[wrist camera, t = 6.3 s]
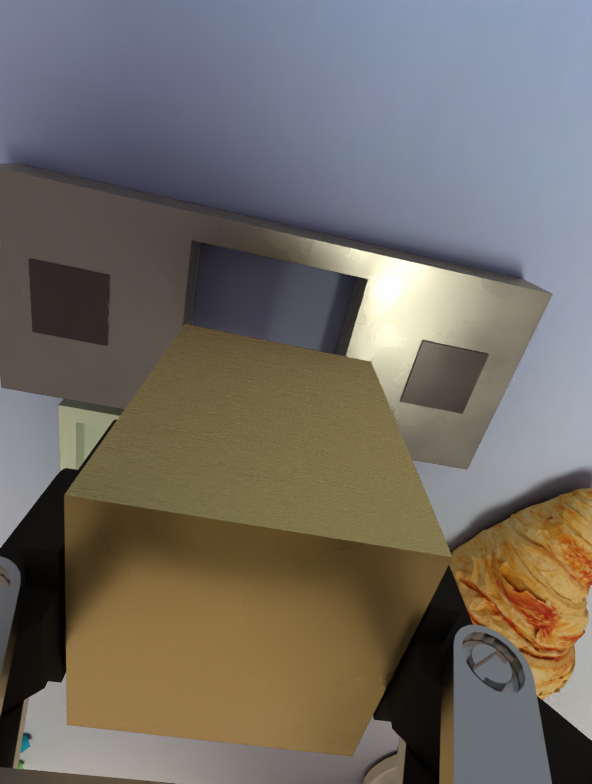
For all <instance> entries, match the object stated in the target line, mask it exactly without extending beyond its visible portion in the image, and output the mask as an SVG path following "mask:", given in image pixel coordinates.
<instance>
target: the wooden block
mask: <svg viewBox="0 0 592 784" xmlns="http://www.w3.org/2000/svg"><path fill="white" fill-rule="evenodd" d="M64 518H65V599H66V681H67V725H72V726H81V727H91V728H100V729H109V730H118V731H127V732H136V733H145V734H154V735H163V736H172V737H181V738H190V739H199V740H208V741H217V742H226V743H235V744H244V745H254V746H263V747H272V748H281V749H290V750H299V751H308V752H317V753H326V754H335V755H344V756H352V755H353V753H354V751H355V749H356V747H357V745H358V743H359V741H360V739H361V737H362V735H363V733H364V731H365V729H366V727H367V725H368V724H369V722H370V720H371V718H372V716H373V714H374V712H375V710H376V708H377V706H378V704H379V702H380V700H381V698H382V696H383V694H384V692H385V690H386V688H387V686H388V684H389V682H390V680H391V678H392V676H393V674H394V672H395V670H396V668H397V666H398V664H399V662H400V660H401V658H402V656H403V654H404V652H405V650H406V648H407V646H408V644H409V643H410V641H411V639H412V637H413V635H414V633H415V631H416V629H417V627H418V625H419V623H420V621H421V619H422V617H423V615H424V613H425V611H426V609H427V607H428V605H429V603H430V601H431V599H432V597H433V595H434V593H435V591H436V589H437V587H438V585H439V583H440V581H441V579H442V577H443V575H444V573H445V571H446V569H447V567H448V565H449V563H450V561H451V560H452V558H453V557H452V555H451V552H450V550H449V547H448V545H447V543H446V540H445V538H444V535H443V533H442V531H441V528H440V526H439V523H438V521H437V519H436V516H435V514H434V511H433V509H432V507H431V504H430V502H429V499H428V497H427V495H426V492H425V490H424V487H423V485H422V483H421V480H420V478H419V475H418V473H417V470H416V468H415V466H414V463H413V461H412V458H411V456H410V454H409V451H408V449H407V446H406V444H405V442H404V439H403V437H402V434H401V432H400V430H399V427H398V425H397V422H396V420H395V418H394V415H393V413H392V410H391V408H390V406H389V403H388V401H387V398H386V396H385V394H384V391H383V389H382V386H381V384H380V382H379V379H378V377H377V374H376V372H375V370H374V367H373V365H372V362H370V361H365V360H361V359H356V358H351V357H346V356H341V355H336V354H331V353H326V352H321V351H316V350H311V349H306V348H302V347H297V346H292V345H287V344H282V343H277V342H272V341H267V340H262V339H257V338H252V337H247V336H242V335H238V334H233V333H228V332H223V331H218V330H213V329H208V328H203V327H198V326H193V325H188V324H185V325H184V326H183V328H182V329H181V331H180V332H179V333H178V335H177V336H176V338H175V339H174V340H173V342H172V343H171V345H170V346H169V348H168V349H167V350H166V352H165V353H164V355H163V356H162V357H161V359H160V360H159V362H158V363H157V365H156V366H155V367H154V369H153V370H152V372H151V373H150V374H149V376H148V377H147V379H146V380H145V381H144V383H143V384H142V386H141V387H140V389H139V390H138V391H137V393H136V394H135V396H134V397H133V398H132V400H131V401H130V403H129V404H128V406H127V407H126V408H125V410H124V411H123V413H122V414H121V415H120V417H119V418H118V420H117V421H116V422H115V424H114V425H113V427H112V428H111V430H110V431H109V432H108V434H107V435H106V437H105V438H104V439H103V441H102V442H101V444H100V445H99V447H98V448H97V449H96V451H95V452H94V454H93V455H92V456H91V458H90V459H89V461H88V462H87V463H86V465H85V466H84V468H83V469H82V471H81V472H80V473H79V475H78V476H77V478H76V479H75V480H74V482H73V483H72V485H71V486H70V487H69V489H68V490H67V492H66V493H65V495H64Z"/></svg>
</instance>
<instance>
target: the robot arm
mask: <svg viewBox="0 0 592 784" xmlns="http://www.w3.org/2000/svg"><path fill="white" fill-rule="evenodd" d="M116 421H117V419H116V420H114V421H113V422H112V423H111V424H110V426H109V427H108V429H107V430H106V431H105V433H104V434H103V436H102V437H101V438H100V440H99V441H98V443H97V444H96V445H95V447H94V448H93V450H92V451H91V452H90V454H89V455H88V457H87V458H86V459H85V461H84V462H83V464H82V465H81V466H80V468H79V469H78V470H76V469H70V468H65V469H62V470H61V471H60V472H59V473H58V475H57V476H56V477H55V478H54V480H53V481H52V482H51V484H50V485H49V486H48V487H47V489H46V490H45V491H44V493H43V494H42V495H41V497H40V498H39V499H38V500H37V502H36V503H35V504H34V506H33V507H32V508H31V509H30V511H29V512H28V513H27V515H26V516H25V517H24V519H23V520H22V521H21V522H20V524H19V525H18V526H17V528H16V529H15V530H14V531H13V533H12V534H11V535H10V537H9V538H8V539H7V541H6V542H5V543H4V544H3V546H2V547H1V548H0V784H174V783H164V782H154V781H143V780H132V779H122V778H111V777H100V776H89V775H79V774H68V773H57V772H47V771H36V770H25V769H18V763H19V757H20V751H21V744H22V738H23V732H24V725H25V719H26V713H27V706H28V700H29V697H30V696H32V695H34V694H35V693H37V692H39V691H40V690H42V689H44V688H45V686H46V684H47V682H48V681H53V682H62V680H63V678H64V675H65V673H66V599H65V518H64V495H65V493H66V492H67V490H68V489H69V487H70V486H71V485H72V483H73V482H74V480H75V479H76V478H77V476H78V475H79V473H80V472H81V471H82V469H83V468H84V466H85V465H86V463H87V462H88V461H89V459H90V458H91V456H92V455H93V454H94V452H95V451H96V449H97V448H98V447H99V445H100V444H101V442H102V441H103V439H104V438H105V437H106V435H107V434H108V432H109V431H110V430H111V428H112V427H113V425H114V424H115V422H116ZM373 718H374V720H382V721H390V722H391V723H392V729H393V730H394V731H395V732H396V733H397V734H398V735H399V743H398V752H397V754H395V755H393V756H391V757H389V758H386V759H384V760H383V761H381V762H379V763H378V764H376V765H375V766H374V767H373V768H372V769H371V770H370V771H369V772H368V773H367V775H366V776H365V778H364V781H363V784H592V741H591V740H590V739H589V738H587V737H586V736H585V735H584V734H583V733H581V732H580V731H579V730H578V729H577V728H575V727H574V726H573V725H572V724H571V723H569V722H568V721H567V720H566V719H565V718H563V717H562V716H561V715H560V714H559V713H557V712H556V711H555V710H554V709H553V708H551V707H550V706H549V705H548V704H546V703H545V702H544V701H543V700H542V699H540V698H539V697H538V696H537V694H536V688H535V682H534V677H533V674H532V671H531V668H530V666H529V664H528V662H527V661H526V659H525V657H524V656H523V654H522V653H521V652H520V651H519V650H518V649H517V647H516V646H515V645H514V644H513V643H512V642H510V641H509V640H508V639H507V638H505V637H504V636H503V635H502V634H500V633H498V632H496V631H494V630H492V629H491V628H487V627H484V626H481V625H473V623H472V621H471V618H470V616H469V613H468V611H467V608H466V606H465V603H464V601H463V598H462V596H461V593H460V591H459V588H458V586H457V583H456V581H455V578H454V576H453V573H452V570H451V568H450V565H448V567H447V569H446V571H445V573H444V575H443V577H442V579H441V581H440V583H439V585H438V587H437V589H436V591H435V593H434V595H433V597H432V599H431V601H430V603H429V605H428V607H427V609H426V611H425V613H424V615H423V617H422V619H421V621H420V623H419V625H418V627H417V629H416V631H415V633H414V635H413V637H412V639H411V641H410V643H409V644H408V646H407V648H406V650H405V652H404V654H403V656H402V658H401V660H400V662H399V664H398V666H397V668H396V670H395V672H394V674H393V676H392V678H391V680H390V682H389V684H388V686H387V688H386V690H385V692H384V694H383V696H382V698H381V700H380V702H379V704H378V706H377V708H376V710H375V712H374V714H373Z"/></svg>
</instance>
